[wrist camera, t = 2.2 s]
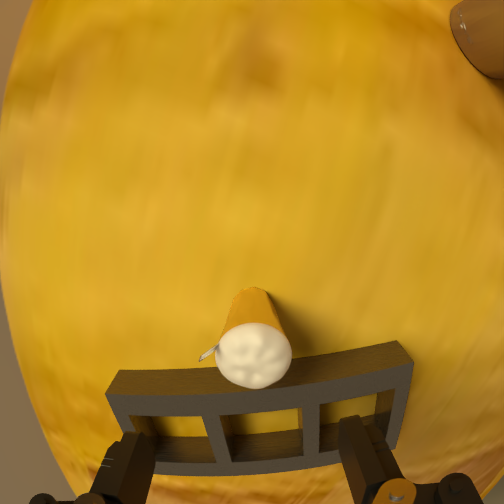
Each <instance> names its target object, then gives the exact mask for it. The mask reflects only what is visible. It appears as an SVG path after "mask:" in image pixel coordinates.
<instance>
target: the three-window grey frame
mask: <svg viewBox="0 0 504 504" xmlns="http://www.w3.org/2000/svg"><path fill="white" fill-rule="evenodd" d="M413 365H414V361H413V360H412V359H411V357H410V356H409V355H408V354H407V353H406V351H405V350H404V349H403V348H402V346H401V345H400V344H399V343H398V342H397V340H396V341H392V342H387V343H382V344H378V345H373V346H368V347H363V348H358V349H352V350H347V351H341V352H336V353H330V354H324V355H318V356H311V357H304V358H297V359H292V360H291V363H290V366H289V368H288V370H287V372H286V373H285V374H284V376H283V377H282V378H281V379H280V380H278V381H276V382H275V383H273V384H271V385H269V386H267V387H264V388H260V389H251V388H246V387H243V386H240V385H237V384H235V383H233V382H231V381H229V380H228V379H227V378H226V377H225V376H224V375H223V374H222V373H221V372H220V370H219V368H218V367H210V368H193V369H169V370H119V371H118V373H117V374H116V376H115V378H114V379H113V381H112V383H111V384H110V386H109V388H108V389H107V391H106V393H105V395H106V397H107V400H108V402H109V404H110V406H111V408H112V411H113V413H114V415H115V417H116V419H117V421H118V423H119V425H120V427H121V429H122V431H123V433H125V432H126V431H134V432H143V433H144V434H145V436H146V438H147V440H148V442H149V444H150V446H151V448H152V450H153V452H154V455H155V460H156V465H155V469H154V473H153V474H161V475H177V476H239V475H256V474H268V473H278V472H286V471H294V470H302V469H308V468H315V467H320V466H326V465H331V464H336V463H341V462H342V461H341V458H340V455H339V450H338V435H339V422H338V423H332V424H327V425H321V426H319V418H320V404H325V403H331V402H336V401H341V400H346V399H351V398H356V397H361V396H365V395H370V394H374V393H377V400H376V407H375V414H374V415H370V416H366V417H361V420H362V423H363V425H364V426H365V425H369V424H373V425H375V426H376V427H377V428H379V429H380V430H381V431H382V433H383V435H384V437H385V439H386V442H387V444H388V446H389V449H390V450H393V449H395V448H396V444H397V440H398V437H399V433H400V429H401V425H402V421H403V416H404V412H405V407H406V403H407V398H408V393H409V388H410V383H411V377H412V371H413ZM293 408H298V423H299V429H296V430H288V431H280V432H271V433H261V434H249V435H235V436H233V432H232V428H231V424H230V420H229V416H228V415H233V414H247V413H258V412H268V411H277V410H285V409H293ZM150 416H202V419H203V422H204V425H205V428H206V432H207V435H208V437H167V436H158V434H157V431H156V429H155V427H154V424H153V422H152V420H151V417H150Z"/></svg>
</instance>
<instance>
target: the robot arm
mask: <svg viewBox="0 0 504 504" xmlns="http://www.w3.org/2000/svg"><path fill="white" fill-rule="evenodd" d="M450 24H451V28H452V32H453V34H454V37H455V39H456V41H457V43H458V45H459V47H460V48H461V50H462V51H463V53H464V54H465V56H466V57H467V58H468V59H469V61H470V62H471V63H472V64H473V65H474V66H475V67H476V68H477V69H478V70H479V71H481V72H482V73H483V74H485V75H487V76H489V77H491V78H494V79H502V78H504V0H463V1H461V2H460V3H458V4H457V5H456V6H454V7H453V9H452V10H451V14H450ZM338 450H339V455H340V458H341V461H342V464H343V467H344V471H345V474H346V477H347V480H348V484H349V487H350V490H351V493H352V497H353V500H354V503H355V504H484V503H483V502H482V499H481V498H480V496H479V494H478V492H477V490H476V488H475V486H474V484H473V482H472V480H471V479H470V478H469V477H468V476H467V475H465V474H463V473H452V474H449V475H447V476H445V477H444V478H443V479H442V480H441V481H440V483H431V484H415V483H412V482H411V481H409V480H407V479H405V478H404V476H403V475H402V473H401V471H400V469H399V467H398V464H397V462H396V460H395V458H394V456H393V454H392V452H391V450H390V449H389V446H388V444H387V442H386V439H385V437H384V435H383V433H382V431H381V430H380V429H379V428H377V427H376V426H375V425H373V424H369V425H365V426H364V425H363V423H362V420H361V418H360V416H359V415H354V416H350V417H345V418H341V419H340V422H339V435H338ZM155 465H156V460H155V455H154V452H153V450H152V448H151V446H150V444H149V442H148V440H147V438H146V436H145V434H144V433H143V432H134V431H126V432H125V433H124V434H123V437H122V439H121V441H120V442H118V441H115V442H114V443H113V444H112V445H111V446H110V447H109V448H108V450H107V452H106V454H105V456H104V459H103V461H102V463H101V466H100V468H99V470H98V473H97V475H96V477H95V480H94V482H93V484H92V487H91V489H90V491H89V493H84V494H82V495H80V496H78V497H77V498H76V500H75V501H56V500H55V499H54V498H53V497H52V496H51V495H49V494H44V493H41V494H37V495H35V496H34V497H33V498H32V499H31V500H30V503H29V504H145V503H146V499H147V496H148V492H149V488H150V484H151V480H152V477H153V473H154V469H155Z"/></svg>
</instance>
